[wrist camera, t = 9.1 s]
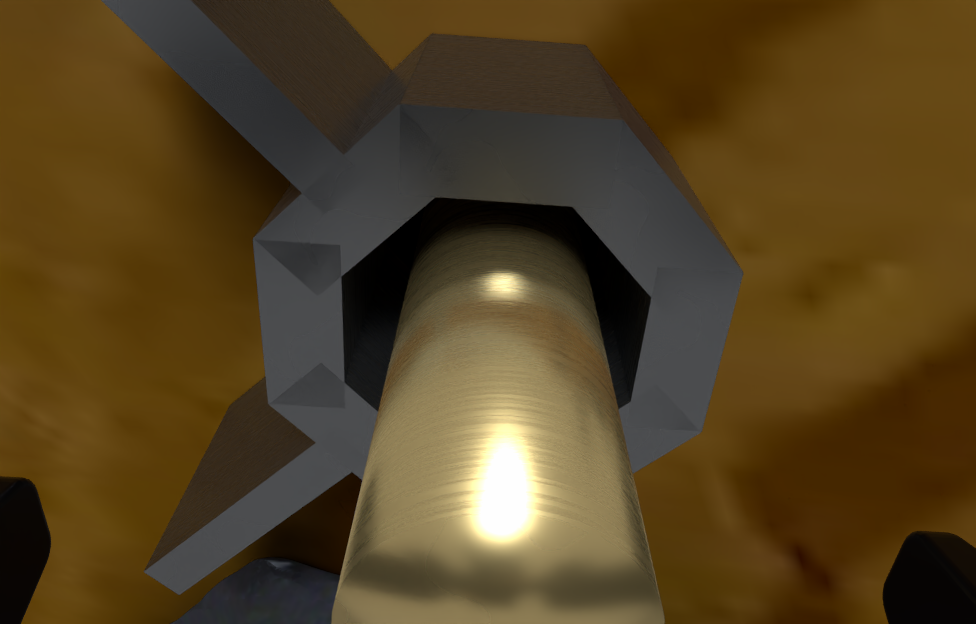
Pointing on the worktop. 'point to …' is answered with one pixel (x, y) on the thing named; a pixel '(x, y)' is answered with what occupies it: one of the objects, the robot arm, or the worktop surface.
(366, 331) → the grey hollow finned part
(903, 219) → the worktop surface
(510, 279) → the brass pin
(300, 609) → the dark slate chunk
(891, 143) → the worktop surface
